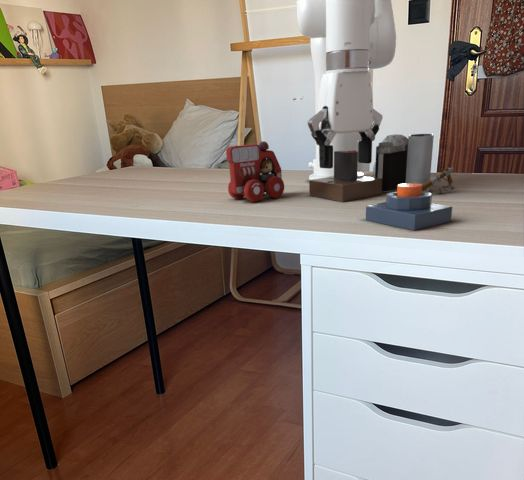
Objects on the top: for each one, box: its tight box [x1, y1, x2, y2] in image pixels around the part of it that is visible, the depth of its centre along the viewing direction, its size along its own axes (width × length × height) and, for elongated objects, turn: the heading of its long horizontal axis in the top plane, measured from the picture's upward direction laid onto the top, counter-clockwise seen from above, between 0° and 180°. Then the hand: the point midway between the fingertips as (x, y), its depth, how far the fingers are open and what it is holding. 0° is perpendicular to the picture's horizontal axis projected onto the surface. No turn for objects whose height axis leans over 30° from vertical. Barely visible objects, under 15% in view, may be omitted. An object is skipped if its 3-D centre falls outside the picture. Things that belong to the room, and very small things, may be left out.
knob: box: [334, 150, 359, 181], centre depth 101 cm, size 5×2×5 cm, turn 33°
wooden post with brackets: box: [422, 167, 456, 194], centre depth 99 cm, size 2×8×4 cm, turn 106°
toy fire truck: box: [225, 141, 285, 203], centre depth 103 cm, size 7×12×10 cm, turn 128°
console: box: [308, 175, 383, 203], centre depth 103 cm, size 10×10×3 cm
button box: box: [365, 190, 453, 231], centre depth 80 cm, size 10×8×4 cm
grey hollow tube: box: [406, 133, 435, 192], centre depth 101 cm, size 4×4×10 cm
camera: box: [372, 133, 408, 193], centre depth 108 cm, size 15×7×10 cm, turn 131°
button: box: [396, 183, 422, 197], centre depth 79 cm, size 4×4×2 cm
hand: (345, 165), depth 101 cm, fingers open, 9 cm apart
